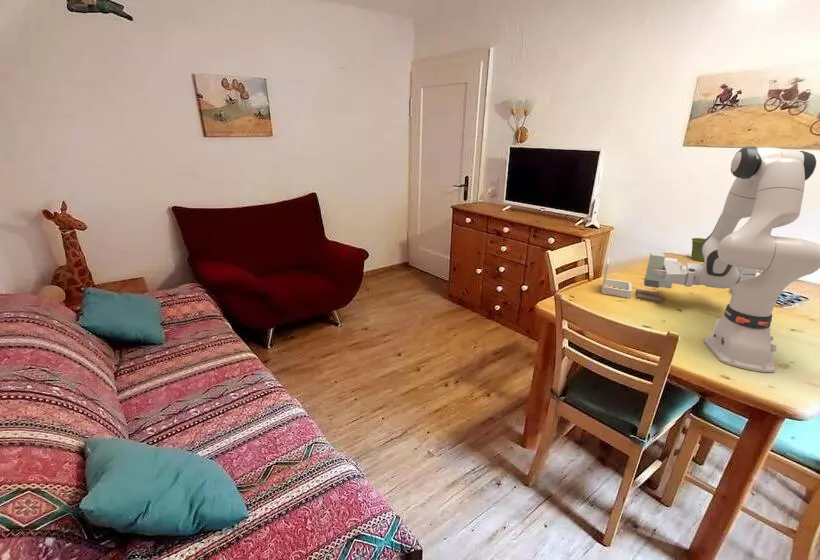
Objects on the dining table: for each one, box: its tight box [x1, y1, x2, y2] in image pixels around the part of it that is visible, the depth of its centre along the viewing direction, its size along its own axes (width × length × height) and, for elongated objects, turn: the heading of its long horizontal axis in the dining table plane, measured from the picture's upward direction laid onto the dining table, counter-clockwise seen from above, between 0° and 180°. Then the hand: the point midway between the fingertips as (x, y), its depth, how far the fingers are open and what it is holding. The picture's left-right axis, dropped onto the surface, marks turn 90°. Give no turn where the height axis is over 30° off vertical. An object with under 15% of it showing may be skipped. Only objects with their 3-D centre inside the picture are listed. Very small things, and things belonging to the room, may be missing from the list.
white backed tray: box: [601, 256, 633, 299], centre depth 183 cm, size 12×12×14 cm
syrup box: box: [728, 267, 758, 294], centre depth 181 cm, size 6×6×14 cm
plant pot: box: [690, 237, 706, 263], centre depth 228 cm, size 12×12×11 cm
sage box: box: [643, 251, 666, 289], centre depth 176 cm, size 5×5×14 cm
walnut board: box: [635, 288, 662, 304], centre depth 180 cm, size 11×9×1 cm
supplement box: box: [658, 256, 678, 289], centre depth 192 cm, size 7×7×13 cm
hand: (651, 268), depth 176 cm, fingers closed on sage box, 5 cm apart
